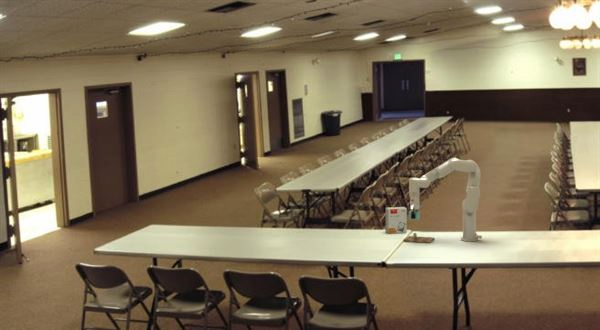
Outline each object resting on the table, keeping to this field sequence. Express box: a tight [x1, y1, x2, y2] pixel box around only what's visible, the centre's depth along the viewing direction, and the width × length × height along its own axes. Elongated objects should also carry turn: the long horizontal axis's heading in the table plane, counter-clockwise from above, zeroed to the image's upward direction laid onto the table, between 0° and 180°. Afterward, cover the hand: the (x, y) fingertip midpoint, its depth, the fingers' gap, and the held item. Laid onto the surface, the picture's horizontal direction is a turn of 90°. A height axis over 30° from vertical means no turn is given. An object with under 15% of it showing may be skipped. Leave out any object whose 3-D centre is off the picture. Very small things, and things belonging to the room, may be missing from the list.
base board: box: [403, 232, 435, 245], centre depth 537 cm, size 20×14×6 cm
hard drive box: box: [385, 206, 408, 235], centre depth 567 cm, size 16×8×20 cm, turn 97°
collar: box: [408, 209, 422, 221], centre depth 536 cm, size 7×7×6 cm
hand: (414, 217), depth 536 cm, fingers closed on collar, 7 cm apart
